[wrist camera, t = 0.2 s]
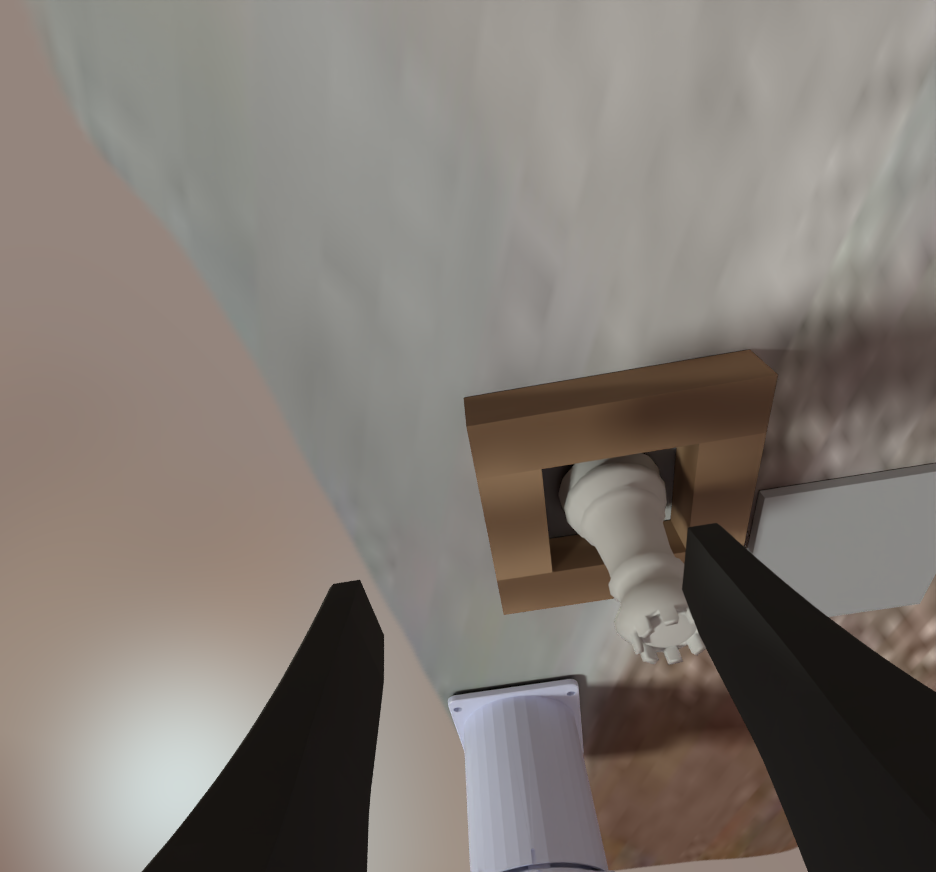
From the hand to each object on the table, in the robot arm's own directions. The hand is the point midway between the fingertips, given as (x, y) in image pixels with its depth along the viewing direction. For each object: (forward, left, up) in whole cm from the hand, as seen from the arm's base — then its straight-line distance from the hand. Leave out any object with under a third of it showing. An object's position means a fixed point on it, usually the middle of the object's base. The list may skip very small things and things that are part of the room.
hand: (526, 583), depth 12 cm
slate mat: (-13, -16, -10) cm, 23 cm away
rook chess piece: (-6, -4, -10) cm, 13 cm away
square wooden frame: (-6, -4, -10) cm, 13 cm away
